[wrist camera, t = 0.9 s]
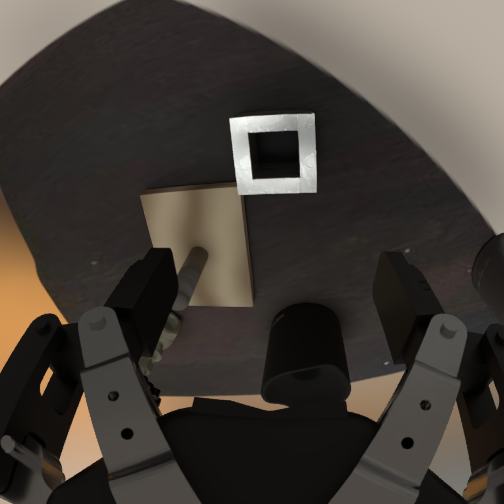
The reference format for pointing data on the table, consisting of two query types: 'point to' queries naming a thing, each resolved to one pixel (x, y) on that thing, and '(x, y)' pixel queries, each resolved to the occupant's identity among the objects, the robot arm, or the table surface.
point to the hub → (276, 173)
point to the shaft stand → (203, 242)
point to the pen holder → (305, 358)
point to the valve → (160, 351)
